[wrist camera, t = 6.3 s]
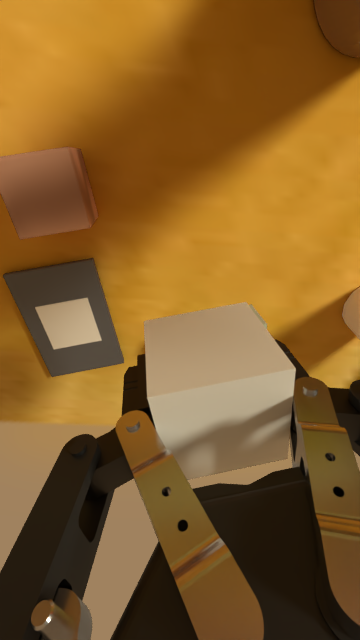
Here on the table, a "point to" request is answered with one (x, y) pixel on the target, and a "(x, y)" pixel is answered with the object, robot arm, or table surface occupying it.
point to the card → (67, 316)
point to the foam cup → (353, 312)
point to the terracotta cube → (47, 192)
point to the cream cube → (218, 389)
